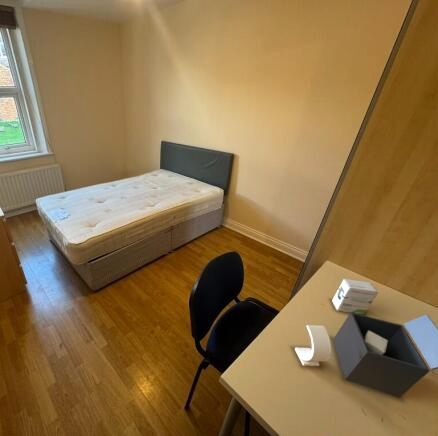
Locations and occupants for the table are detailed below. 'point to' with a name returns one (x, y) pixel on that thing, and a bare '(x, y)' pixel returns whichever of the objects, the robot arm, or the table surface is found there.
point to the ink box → (354, 296)
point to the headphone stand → (315, 347)
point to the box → (375, 343)
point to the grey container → (379, 356)
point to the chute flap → (425, 338)
